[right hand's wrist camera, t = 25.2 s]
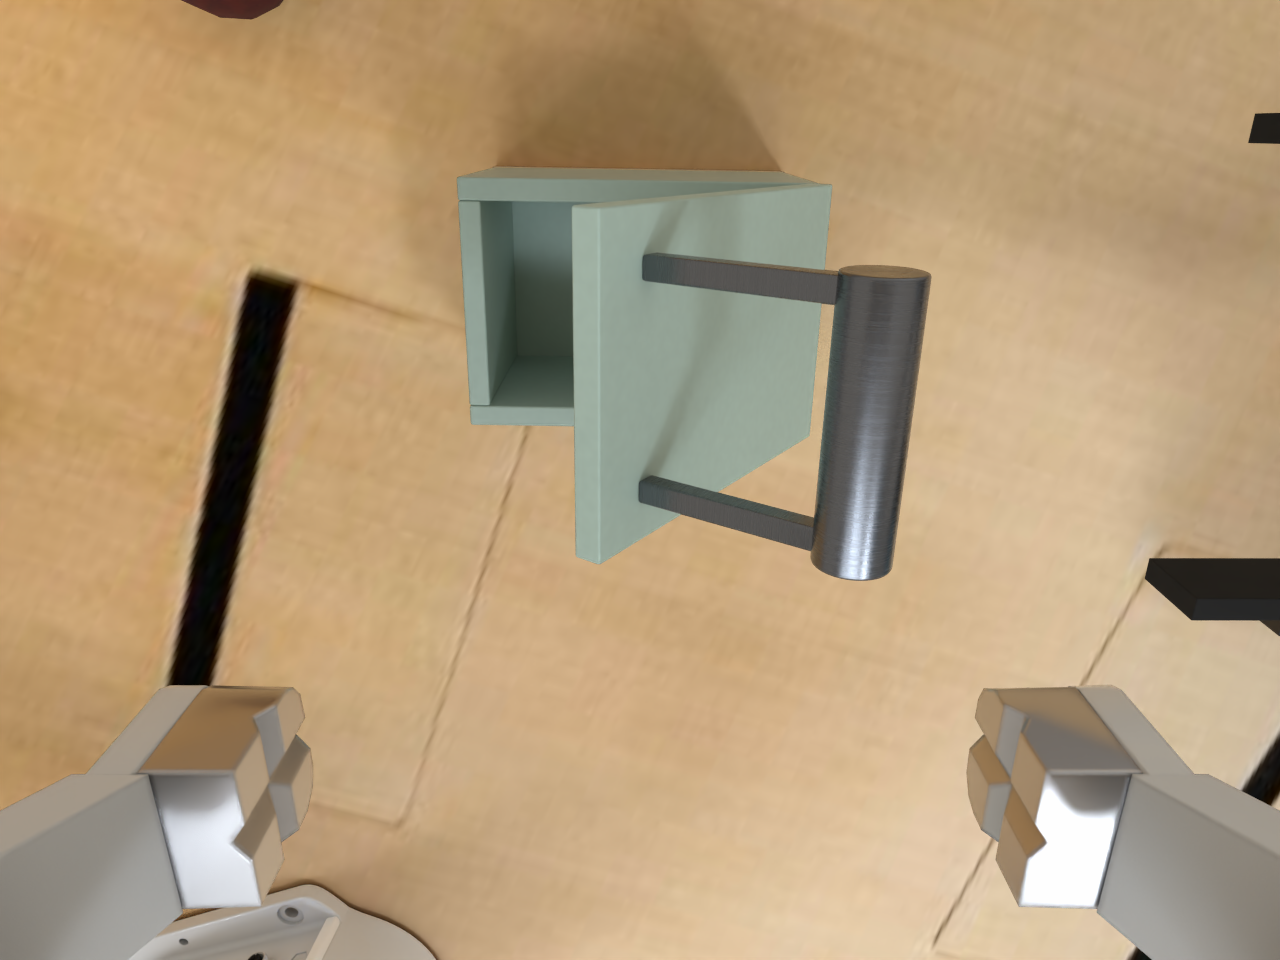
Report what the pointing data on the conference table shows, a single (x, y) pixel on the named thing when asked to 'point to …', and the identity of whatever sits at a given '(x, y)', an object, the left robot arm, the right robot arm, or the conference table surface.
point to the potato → (236, 7)
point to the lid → (737, 372)
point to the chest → (543, 275)
